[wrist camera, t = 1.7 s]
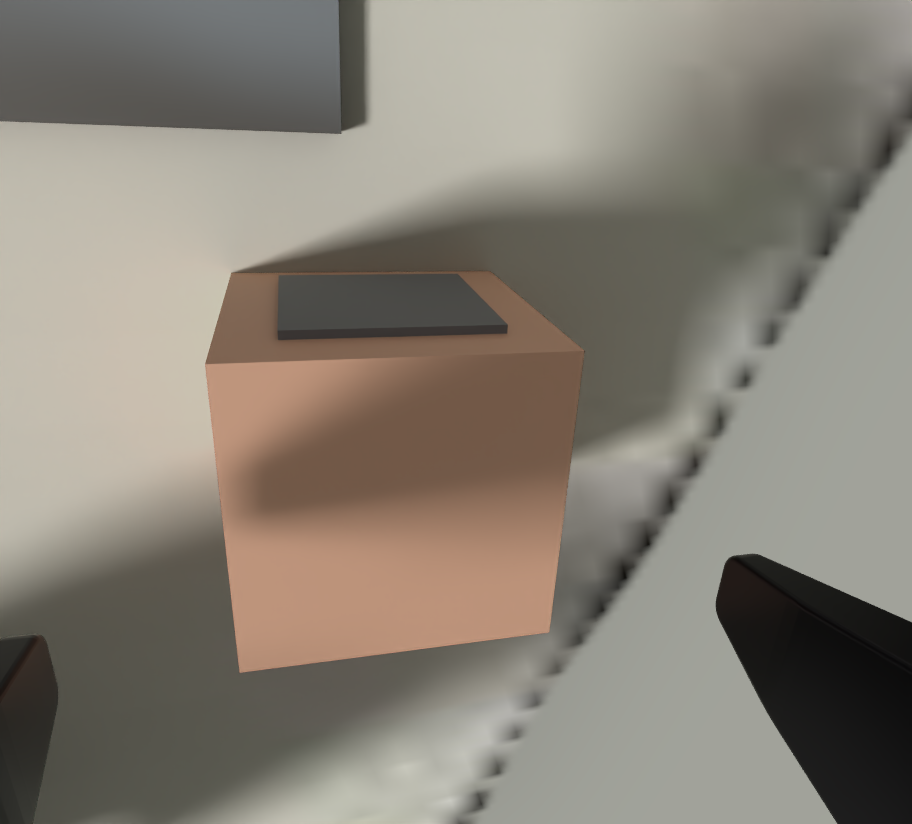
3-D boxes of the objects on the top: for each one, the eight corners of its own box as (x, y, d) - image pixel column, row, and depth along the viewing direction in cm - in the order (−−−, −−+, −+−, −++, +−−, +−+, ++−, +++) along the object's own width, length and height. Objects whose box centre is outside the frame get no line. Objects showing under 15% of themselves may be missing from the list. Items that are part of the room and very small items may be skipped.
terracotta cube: (475, 484, 18) (549, 632, 13) (252, 501, 16) (239, 672, 12) (489, 263, 15) (586, 341, 10) (231, 264, 14) (203, 353, 9)
